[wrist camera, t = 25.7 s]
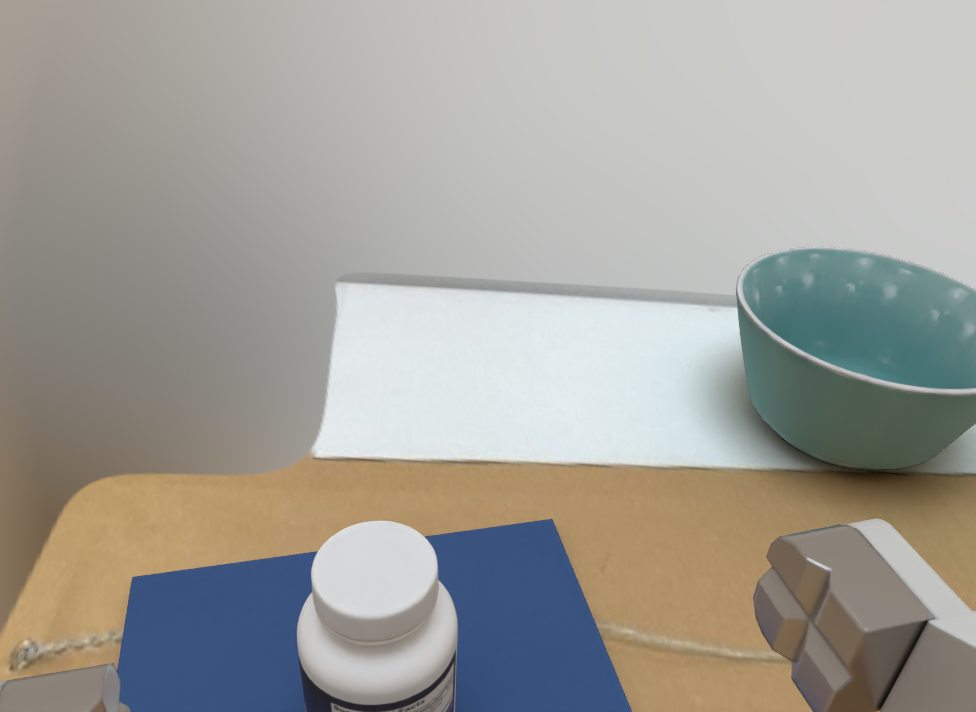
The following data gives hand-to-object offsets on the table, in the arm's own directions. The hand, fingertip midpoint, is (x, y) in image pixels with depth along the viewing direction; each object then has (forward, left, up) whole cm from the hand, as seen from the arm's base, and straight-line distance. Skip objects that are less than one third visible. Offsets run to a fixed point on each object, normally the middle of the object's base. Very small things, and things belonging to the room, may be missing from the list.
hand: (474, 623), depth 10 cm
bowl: (+30, +27, -22) cm, 46 cm away
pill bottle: (0, +12, -22) cm, 24 cm away
